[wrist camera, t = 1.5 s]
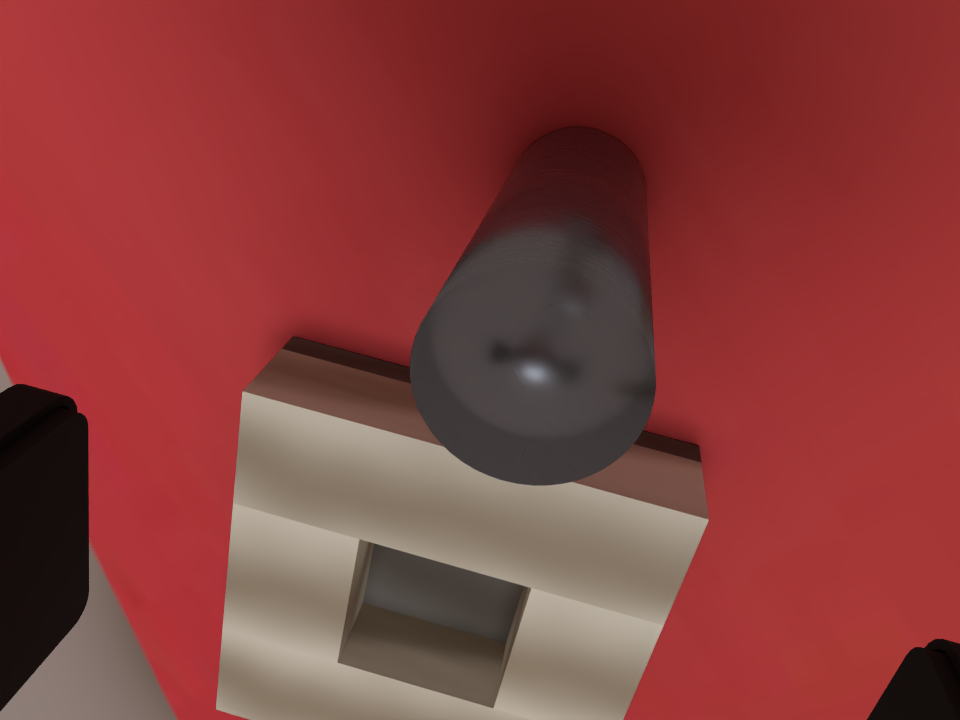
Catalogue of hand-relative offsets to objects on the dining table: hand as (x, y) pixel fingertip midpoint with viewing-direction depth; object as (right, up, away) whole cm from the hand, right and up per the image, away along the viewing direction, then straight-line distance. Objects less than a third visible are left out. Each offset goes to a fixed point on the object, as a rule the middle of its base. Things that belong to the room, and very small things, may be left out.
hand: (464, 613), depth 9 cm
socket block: (-1, -4, +21) cm, 22 cm away
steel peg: (+3, +8, +15) cm, 17 cm away
